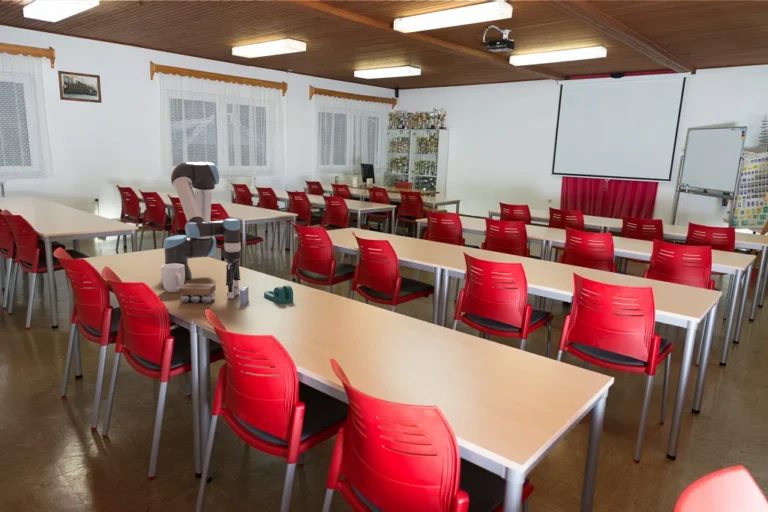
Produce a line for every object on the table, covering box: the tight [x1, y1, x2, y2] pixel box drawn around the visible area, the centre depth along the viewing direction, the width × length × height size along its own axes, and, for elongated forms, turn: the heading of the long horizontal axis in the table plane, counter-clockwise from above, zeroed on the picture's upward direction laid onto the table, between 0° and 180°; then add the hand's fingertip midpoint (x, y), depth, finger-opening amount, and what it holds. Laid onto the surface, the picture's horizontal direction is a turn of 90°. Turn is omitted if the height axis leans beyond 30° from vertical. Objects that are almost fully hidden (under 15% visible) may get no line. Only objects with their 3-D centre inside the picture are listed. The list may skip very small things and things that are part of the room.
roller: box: [226, 286, 241, 299], centre depth 253 cm, size 8×4×4 cm, turn 0°
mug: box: [160, 263, 186, 293], centre depth 256 cm, size 15×11×13 cm
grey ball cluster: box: [179, 291, 216, 305], centre depth 243 cm, size 8×14×4 cm, turn 90°
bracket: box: [263, 284, 294, 305], centre depth 251 cm, size 18×7×8 cm, turn 43°
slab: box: [178, 283, 216, 296], centre depth 242 cm, size 9×14×3 cm, turn 90°
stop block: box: [239, 285, 249, 306], centre depth 243 cm, size 8×2×7 cm, turn 0°
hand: (233, 295), depth 253 cm, fingers closed on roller, 8 cm apart
